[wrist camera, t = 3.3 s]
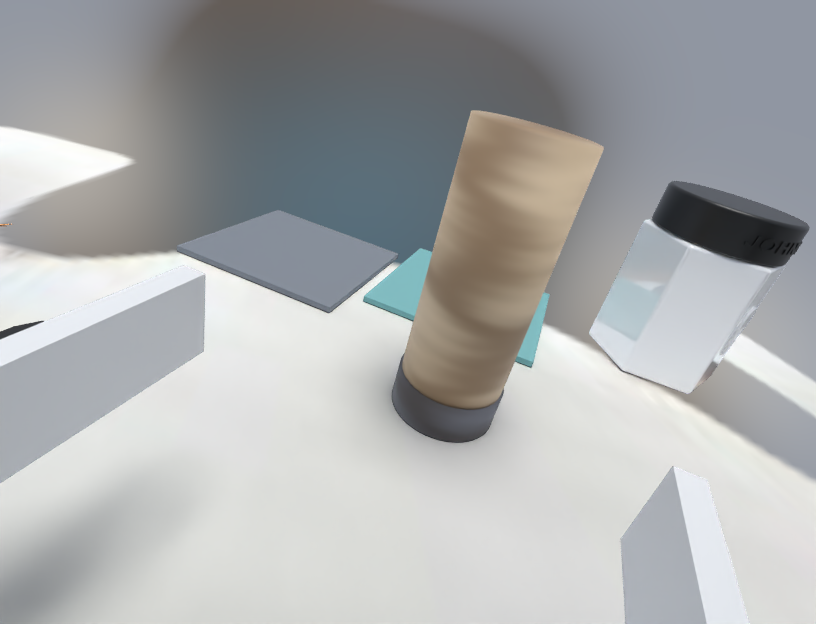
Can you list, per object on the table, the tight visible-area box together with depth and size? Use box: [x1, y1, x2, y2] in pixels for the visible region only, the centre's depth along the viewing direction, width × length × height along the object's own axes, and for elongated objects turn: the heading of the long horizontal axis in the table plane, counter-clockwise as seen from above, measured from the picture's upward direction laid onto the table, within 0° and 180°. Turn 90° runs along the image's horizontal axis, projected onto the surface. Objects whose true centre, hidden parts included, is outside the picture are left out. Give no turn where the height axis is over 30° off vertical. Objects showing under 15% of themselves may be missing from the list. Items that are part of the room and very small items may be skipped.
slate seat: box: [177, 210, 398, 313], centre depth 36 cm, size 12×12×1 cm
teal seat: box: [363, 248, 549, 367], centre depth 36 cm, size 12×12×1 cm
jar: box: [589, 181, 809, 394], centre depth 32 cm, size 9×8×12 cm
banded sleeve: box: [392, 111, 604, 442], centre depth 21 cm, size 5×5×14 cm
